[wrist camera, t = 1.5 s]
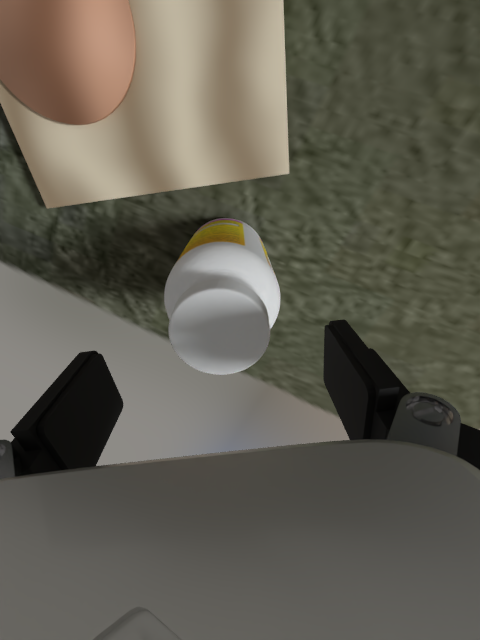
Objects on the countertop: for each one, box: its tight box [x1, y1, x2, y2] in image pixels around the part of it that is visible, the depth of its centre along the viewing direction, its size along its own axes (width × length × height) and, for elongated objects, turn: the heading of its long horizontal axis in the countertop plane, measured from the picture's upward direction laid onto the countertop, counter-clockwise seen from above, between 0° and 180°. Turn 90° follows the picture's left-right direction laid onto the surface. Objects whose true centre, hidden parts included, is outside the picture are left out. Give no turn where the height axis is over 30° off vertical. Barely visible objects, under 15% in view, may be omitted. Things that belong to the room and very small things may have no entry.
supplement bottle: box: [164, 218, 280, 375], centre depth 18 cm, size 7×7×13 cm
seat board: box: [0, 0, 289, 208], centre depth 17 cm, size 18×14×2 cm
